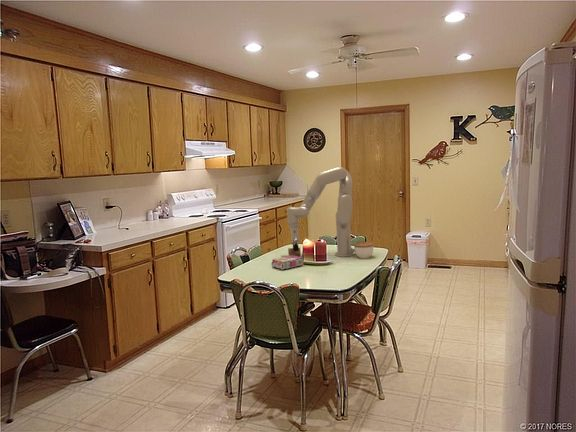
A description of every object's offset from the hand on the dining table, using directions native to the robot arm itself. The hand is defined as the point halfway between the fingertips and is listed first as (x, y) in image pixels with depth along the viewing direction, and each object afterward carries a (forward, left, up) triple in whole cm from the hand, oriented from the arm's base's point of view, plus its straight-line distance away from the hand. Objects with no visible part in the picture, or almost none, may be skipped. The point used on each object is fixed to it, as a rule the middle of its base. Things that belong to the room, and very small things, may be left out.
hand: (295, 249), depth 307 cm
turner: (+4, 0, -5) cm, 6 cm away
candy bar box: (0, +22, -2) cm, 23 cm away
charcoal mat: (+9, +21, -5) cm, 24 cm away
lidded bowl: (-44, +15, -5) cm, 47 cm away
